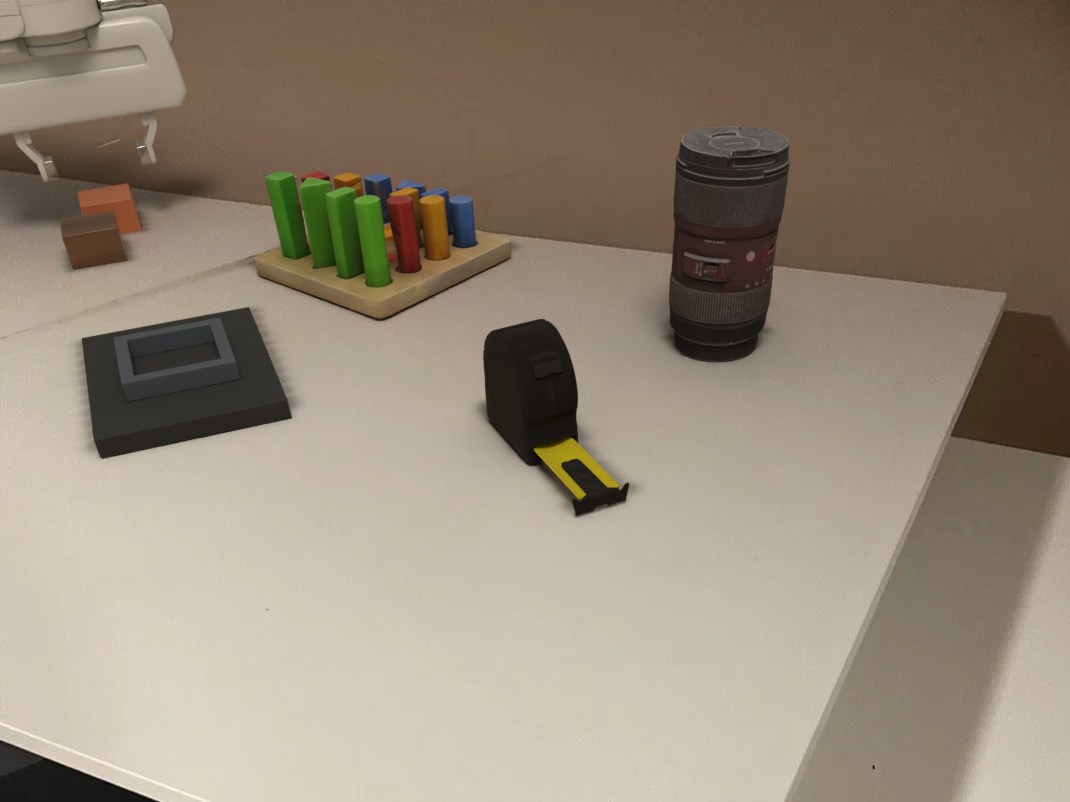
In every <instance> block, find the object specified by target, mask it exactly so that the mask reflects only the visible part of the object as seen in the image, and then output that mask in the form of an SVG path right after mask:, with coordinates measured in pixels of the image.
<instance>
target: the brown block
mask: <svg viewBox="0 0 1070 802" xmlns="http://www.w3.org/2000/svg"><path fill="white" fill-rule="evenodd" d="M59 224H60V234H61V235H60V236H61V239H62V242H63V245H64V247H65V250H66V254H67V256H68V257H69V261H70V264H71V267H72V270H73V271H77V270H83V269H88V268H94V267H100V266H106V265H111V264H115V263H116V264H117V263H124V262H128V257H127V256H128V255H127V252H126V248H125V243H124V240H123V237H122V234H121V233H120V230H119V227H118V224H117V221H116V218H115V215H114V212H113V211H108V212H102V213H95V214H89V215H83V214H82V215H77V216H72V217H65V218H60V219H59Z"/></svg>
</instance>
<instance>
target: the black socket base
mask: <svg viewBox="0 0 1070 802" xmlns="http://www.w3.org/2000/svg"><path fill="white" fill-rule="evenodd" d="M81 346H82V354H83V361H84V362H83V363H84V369H85V371H84V372H85V378H86V379H85V380H86V387H87V395H88V403H89V404H88V405H89V413H90V420H91V421H90V422H91V429H92V436H93V443H94V445H95V447H96V449H97V452H98V455H99V457H100V458H101V459H106V458H110V457H114V456H119V455H123V454H124V455H125V454H128V453H133V452H137V451H142V450H147V449H152V448H156V447H161V446H162V447H163V446H166V445H170V444H176V443H180V442H181V443H182V442H185V441H189V440H190V441H191V440H194V439H199V438H204V437H208V436H213V435H218V434H222V433H226V432H232V431H237V430H241V429H246V428H250V427H255V426H260V425H261V426H262V425H264V424H269V423H274V422H279V421H283V420H289V419H292V413H291V409H290V405H289V400H288V398H287V396H286V393H285V391H284V388H283V386H282V383H281V381H280V378H279V376H278V374H277V371H276V368H275V366H274V364H273V361H272V359H271V357H270V354H269V352H268V349H267V347H266V344H265V342H264V340H263V337H262V335H261V332H260V330H259V327H258V325H257V322H256V320H255V317H254V315H253V313H252V310H251V308H250V306H246V307H241V308H236V309H230V310H226V311H220V312H219V311H218V312H214V313H209V314H203V315H198V316H193V317H188V318H182V319H176V320H171V321H165V322H161V323H155V324H149V325H145V326H139V327H134V328H129V329H123V330H118V331H112V332H107V333H102V334H97V335H96V334H95V335H92V336H91V335H90V336H86V337H81Z"/></svg>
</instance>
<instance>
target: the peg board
mask: <svg viewBox="0 0 1070 802" xmlns="http://www.w3.org/2000/svg"><path fill="white" fill-rule="evenodd" d="M264 180H265V185H266V189H267V193H268V197H269V201H270V205H271V210H272V213H273V218H274V223H275V227H276V229H277V235H278V239H279V243H280V246H278V247H276V248H274V249H271V250H269V251H266V252H264V253H261V254H258V255H256V256H255V257H254V258H253V259H254V263H255V268H256V272H257V274H258V276H260V277H263V278H264V279H268V280H271V281H274V282H276V283H279V284H280V285H285V286H287V287H290V288H292V289H296V290H298V291H300V292H304V293H306V294H308V295H312V296H314V297H317V298H320V299H322V300H325V301H328V302H331V303H333V304H336V305H339V306H342V307H345V308H346V309H347V308H348V309H350V310H352V311H355V312H357V313H361V314H363V315H366V316H369V317H372V318H375V319H386V318H387V317H390V316H392V315H394V314H396V313H398V312H400V311H403V310H404V309H406V308H408V307H411V306H412V305H414V304H417V303H419V302H420V301H423V300H425V299H427V298H429V297H431V296H433V295H436V294H437V293H440V292H442V291H444V290H445V289H448V288H450V287H451V286H454V285H456V284H458V283H460V282H462V281H464V280H466V279H468V278H471V277H472V276H475V275H476V274H478V273H481V272H483V271H485V270H486V269H489V268H491V267H493V266H495V265H497V264H500V263H501V262H503V261H505V260H507V259H510V258H511V256H512V243H511V239H509V238H507V237H503V236H500V235H496V234H493V233H489V232H487V231H483V230H480V229H476V222H475V213H474V212H475V211H474V201H473V197H472V196H470V195H464V194H460V195H455V196H452V197H450V193H449V189H446V188H443V187H434V188H433V189H432V188H431V189H430V190H427V188H426V185H425V184H422V183H420V182H418V181H414V180H410V179H408V178H406V179H404V180H403V181H401V182H400V183H399V184H398V186H396V188H395V191H393V187H392V186H393V185H392V179H391V176H390V175H387V174H383V173H380V172H379V173H373V174H371V175H368V176H366V177H365V176H364V178H363V181H362V176H361V175H359V174H357V173H353V172H345V173H341V174H339V175H336V176H333V179H332V180H333V185H332V182H331V178H330V175H329V174H328V173H324V172H321V171H313V172H309V173H307V174H304V175H302V176H301V177H300V181H301V184H300V185H299V186H298V187H297V183H296V178H295V174H294V173H291V172H287V171H283V170H282V171H281V170H279V171H275V172H274V173H271V174H268V175H265V177H264ZM363 182H364V183H363ZM363 184H364V189H363ZM333 186H334V190H333ZM364 190H365V194H364ZM298 191H299V192H298Z"/></svg>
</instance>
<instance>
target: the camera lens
mask: <svg viewBox="0 0 1070 802" xmlns="http://www.w3.org/2000/svg"><path fill="white" fill-rule="evenodd" d="M789 151H790V141H789V138H787V137H786V136H785V135H784V134H782V133H779V132H777V131H773V130H769V129H765V128H761V127H754V126H738V125H730V126H729V125H727V126H712V127H705V128H699V129H697V130H692V131H689V132H687V133H686V134H684V135H683V136H682V137H681V139H680V146H679V150H678V153H677V154H676V156H675V159H676V161H675V175H674V189H673V191H674V192H673V215H672V216H673V222H674V232H673V243H672V256H671V257H672V258H671V271H670V274H669V275H670V276H669V285H668V286H669V288H668V290H669V291H668V307H669V325H670V327H671V329H672V330H673V343H674V344H673V345H674V347H675V349H676V350H677V351H678V352H679V353H680V354H682V355H683V356H686V357H687V358H691V359H694V360H698V361H703V362H717V363H718V362H719V363H720V362H730V361H734V360H738V359H740V358H744V357H746V356H748V355H750V354H751V353H752V352H753V351H754V350H755V349H756V347H757V345H758V339H759V334H760V333H761V332H762V330H763V329H764V327H765V325H766V319H767V315H768V310H769V307H770V303H771V296H772V288H773V279H774V276H773V275H774V265H775V258H776V250H777V239H778V234H779V226H780V224H781V222H782V217H783V213H784V208H785V203H786V202H785V201H786V195H787V187H788V181H789V171H790V167H791V165H790V162H791V157H790V155H789V153H790V152H789Z"/></svg>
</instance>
